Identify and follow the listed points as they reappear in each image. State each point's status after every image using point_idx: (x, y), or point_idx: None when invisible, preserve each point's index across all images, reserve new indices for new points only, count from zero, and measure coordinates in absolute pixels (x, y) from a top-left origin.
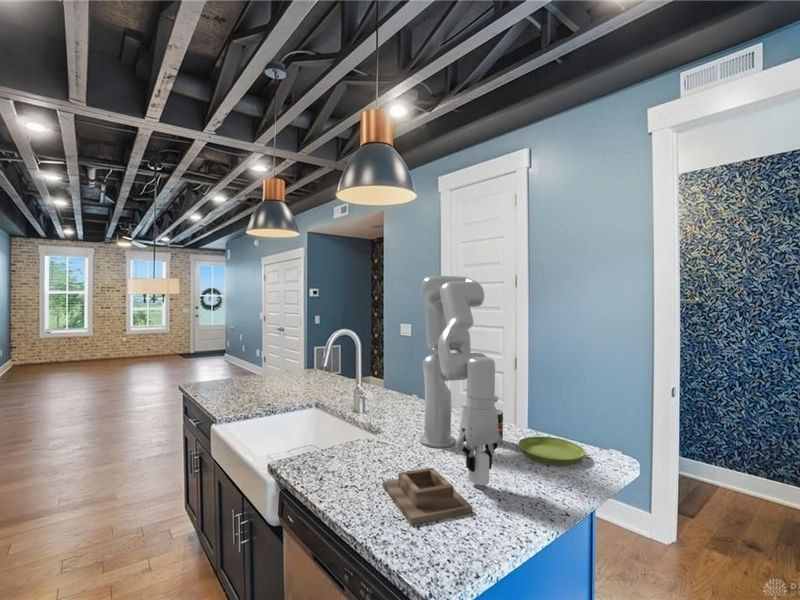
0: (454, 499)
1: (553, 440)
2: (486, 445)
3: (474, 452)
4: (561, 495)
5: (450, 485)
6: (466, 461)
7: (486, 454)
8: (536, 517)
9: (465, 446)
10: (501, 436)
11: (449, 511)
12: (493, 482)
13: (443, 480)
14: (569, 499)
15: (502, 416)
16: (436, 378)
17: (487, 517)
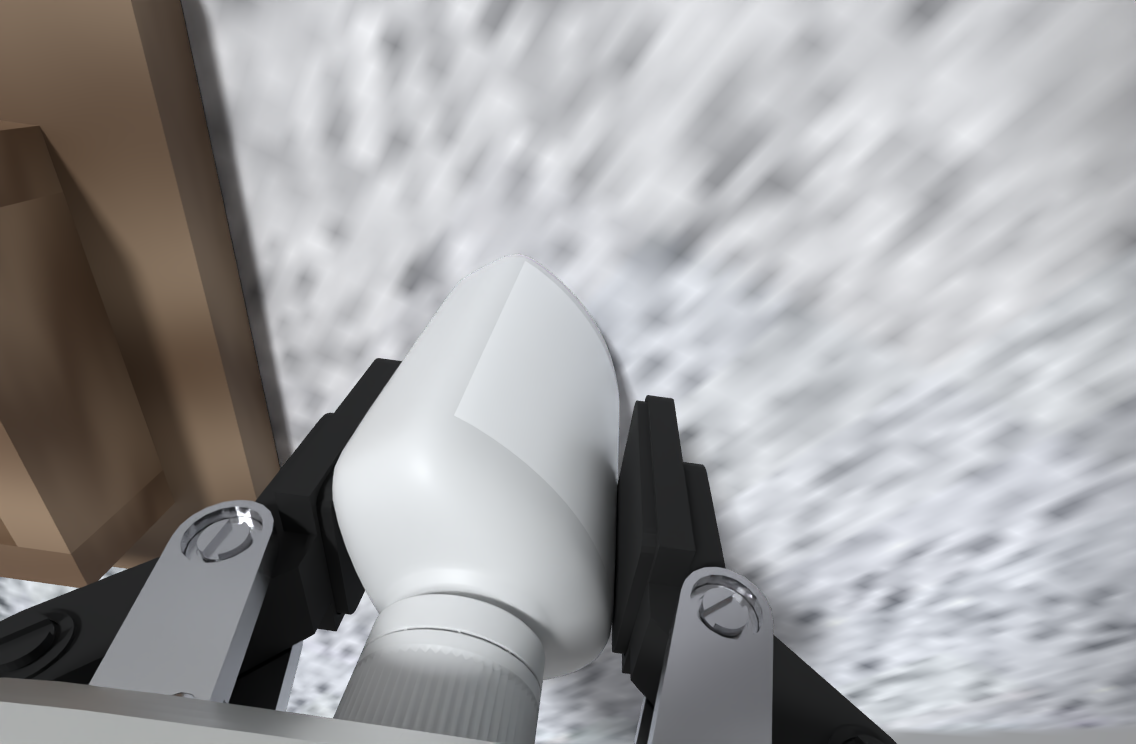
0: (188, 494)
1: None
2: (685, 712)
3: (379, 598)
4: (956, 654)
5: (64, 569)
6: (301, 455)
7: (554, 677)
8: (598, 696)
9: (119, 630)
10: None
11: (121, 565)
12: (727, 337)
13: (7, 484)
14: (938, 688)
15: None
16: None
17: (361, 611)
